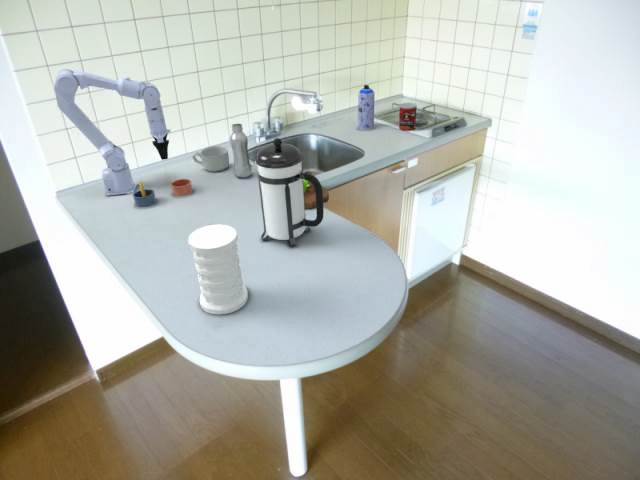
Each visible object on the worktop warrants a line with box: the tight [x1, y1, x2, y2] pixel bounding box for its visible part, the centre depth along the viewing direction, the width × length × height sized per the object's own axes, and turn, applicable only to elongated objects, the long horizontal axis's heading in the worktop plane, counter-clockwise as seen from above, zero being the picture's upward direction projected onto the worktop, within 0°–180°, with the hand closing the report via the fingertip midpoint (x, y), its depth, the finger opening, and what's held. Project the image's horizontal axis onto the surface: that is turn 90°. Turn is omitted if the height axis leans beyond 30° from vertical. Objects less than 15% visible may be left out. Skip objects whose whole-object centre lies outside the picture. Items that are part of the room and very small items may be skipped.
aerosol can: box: [357, 84, 376, 132], centre depth 218 cm, size 8×8×20 cm
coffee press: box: [254, 137, 325, 248], centre depth 131 cm, size 17×16×30 cm
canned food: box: [398, 102, 418, 132], centre depth 218 cm, size 8×8×11 cm
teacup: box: [192, 145, 230, 173], centre depth 184 cm, size 14×11×8 cm
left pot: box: [132, 188, 158, 208], centre depth 161 cm, size 7×7×4 cm
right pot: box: [170, 178, 194, 197], centre depth 167 cm, size 7×7×4 cm
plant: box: [303, 170, 330, 210], centre depth 158 cm, size 20×20×11 cm
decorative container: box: [187, 223, 249, 315], centre depth 109 cm, size 12×12×18 cm
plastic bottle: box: [229, 123, 253, 178], centre depth 174 cm, size 6×7×20 cm
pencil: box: [138, 180, 146, 197], centre depth 160 cm, size 1×1×8 cm
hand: (164, 155), depth 172 cm, fingers open, 7 cm apart
